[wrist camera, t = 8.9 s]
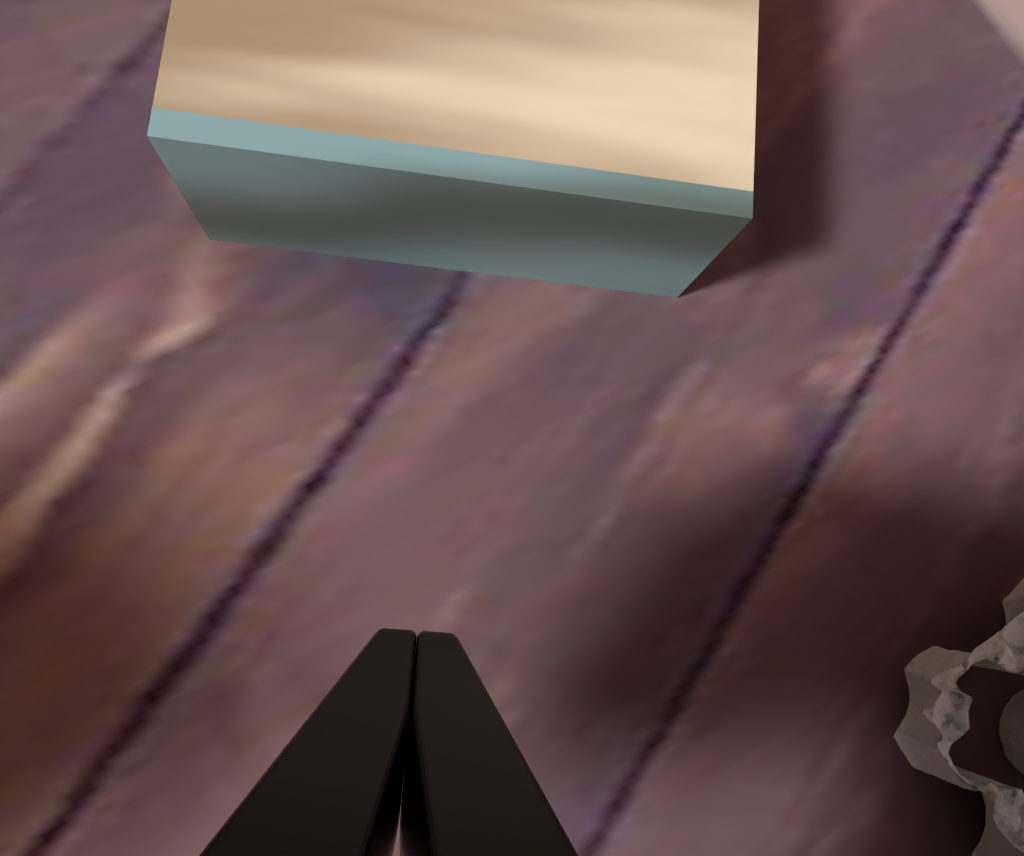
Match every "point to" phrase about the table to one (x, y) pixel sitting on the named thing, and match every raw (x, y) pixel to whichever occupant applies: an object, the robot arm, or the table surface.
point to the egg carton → (944, 719)
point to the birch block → (468, 132)
